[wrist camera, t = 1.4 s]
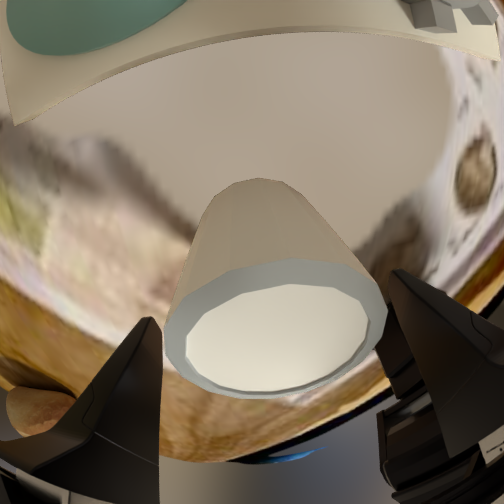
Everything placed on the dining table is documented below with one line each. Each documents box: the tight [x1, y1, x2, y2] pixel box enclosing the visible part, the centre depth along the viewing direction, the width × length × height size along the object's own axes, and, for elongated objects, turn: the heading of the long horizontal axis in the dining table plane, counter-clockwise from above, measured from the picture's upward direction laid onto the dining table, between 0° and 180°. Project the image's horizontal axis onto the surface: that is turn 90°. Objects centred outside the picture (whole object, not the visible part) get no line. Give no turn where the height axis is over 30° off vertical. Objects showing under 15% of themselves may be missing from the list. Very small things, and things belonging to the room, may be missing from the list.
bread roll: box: [6, 386, 76, 437], centre depth 21 cm, size 10×15×8 cm, turn 110°
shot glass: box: [164, 178, 388, 399], centre depth 11 cm, size 7×7×7 cm
